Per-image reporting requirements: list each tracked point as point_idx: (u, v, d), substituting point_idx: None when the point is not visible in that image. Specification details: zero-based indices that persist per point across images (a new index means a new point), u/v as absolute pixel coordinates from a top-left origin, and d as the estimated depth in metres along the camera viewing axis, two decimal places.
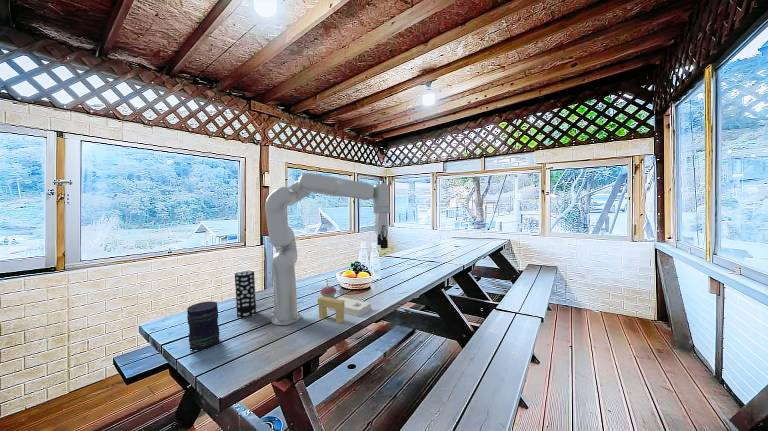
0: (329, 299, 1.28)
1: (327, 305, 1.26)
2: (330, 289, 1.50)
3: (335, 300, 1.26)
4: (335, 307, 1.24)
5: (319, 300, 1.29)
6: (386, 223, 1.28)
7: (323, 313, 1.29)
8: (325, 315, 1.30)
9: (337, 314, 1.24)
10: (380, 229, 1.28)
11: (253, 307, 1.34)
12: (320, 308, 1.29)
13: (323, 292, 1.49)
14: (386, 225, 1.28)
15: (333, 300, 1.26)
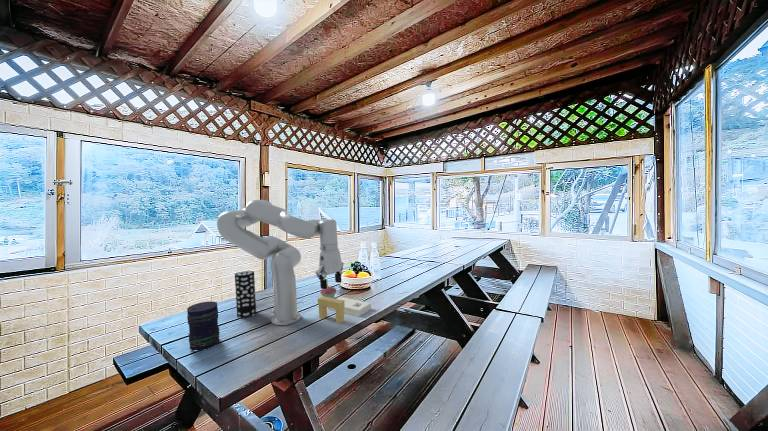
0: (329, 299, 1.28)
1: (327, 305, 1.26)
2: (330, 289, 1.50)
3: (335, 300, 1.26)
4: (335, 307, 1.24)
5: (319, 300, 1.29)
6: None
7: (323, 313, 1.29)
8: (325, 315, 1.30)
9: (337, 314, 1.24)
10: None
11: (253, 307, 1.34)
12: (320, 308, 1.29)
13: (323, 292, 1.49)
14: None
15: (333, 300, 1.26)
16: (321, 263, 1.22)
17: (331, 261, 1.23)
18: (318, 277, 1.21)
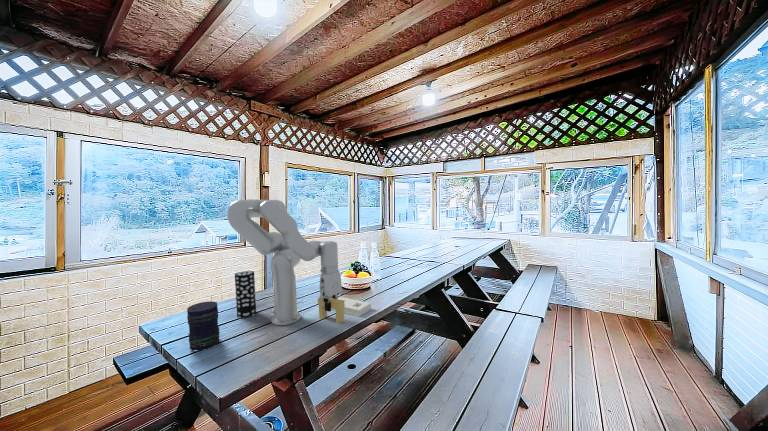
0: None
1: None
2: None
3: (336, 300, 1.26)
4: (335, 307, 1.24)
5: (319, 300, 1.29)
6: None
7: (323, 313, 1.29)
8: (325, 315, 1.30)
9: (337, 314, 1.24)
10: None
11: (253, 307, 1.34)
12: (320, 308, 1.29)
13: None
14: None
15: (333, 300, 1.26)
16: (321, 285, 1.23)
17: (331, 283, 1.24)
18: None
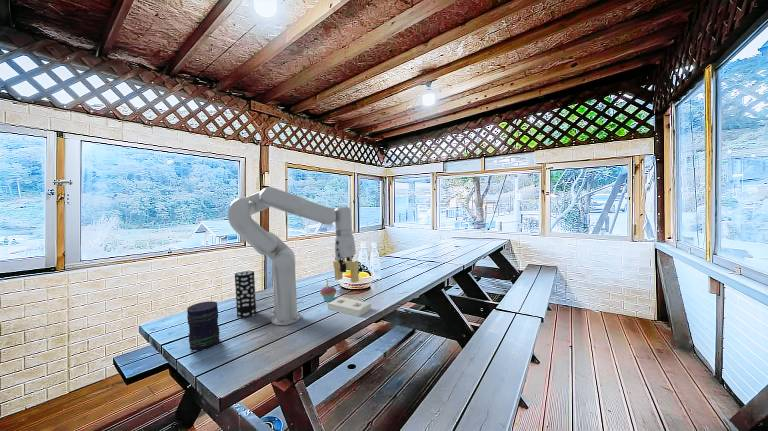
0: None
1: None
2: (330, 289, 1.50)
3: (350, 262, 1.34)
4: (350, 268, 1.32)
5: (335, 263, 1.37)
6: None
7: (338, 274, 1.37)
8: (340, 277, 1.38)
9: (352, 274, 1.32)
10: None
11: (253, 307, 1.34)
12: (336, 270, 1.37)
13: (323, 292, 1.49)
14: None
15: (348, 262, 1.34)
16: (336, 247, 1.31)
17: (346, 245, 1.32)
18: None
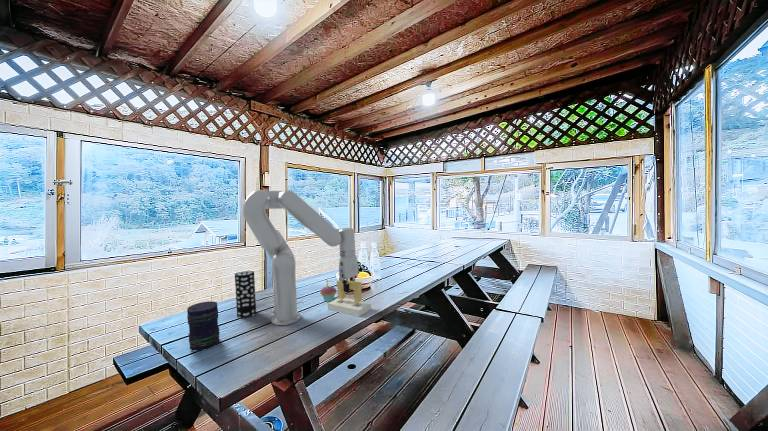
0: None
1: None
2: (330, 289, 1.50)
3: (353, 282, 1.37)
4: (353, 288, 1.35)
5: (338, 282, 1.39)
6: None
7: (341, 294, 1.39)
8: (343, 296, 1.41)
9: (355, 294, 1.35)
10: None
11: (253, 307, 1.34)
12: (339, 290, 1.40)
13: (323, 292, 1.49)
14: None
15: (351, 282, 1.37)
16: (340, 268, 1.34)
17: (349, 266, 1.34)
18: None
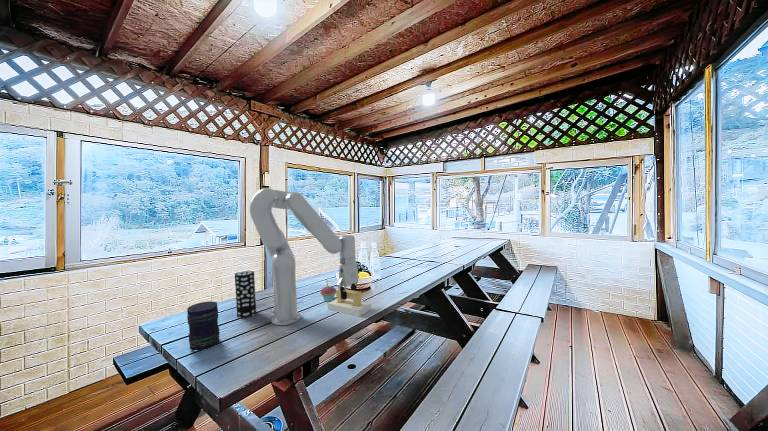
0: (347, 290, 1.39)
1: None
2: (330, 289, 1.50)
3: (353, 291, 1.37)
4: (353, 298, 1.35)
5: (338, 292, 1.40)
6: None
7: None
8: None
9: (355, 304, 1.35)
10: None
11: (253, 307, 1.34)
12: (338, 299, 1.40)
13: (323, 292, 1.49)
14: None
15: (351, 291, 1.37)
16: (340, 275, 1.34)
17: (349, 273, 1.35)
18: (339, 289, 1.33)
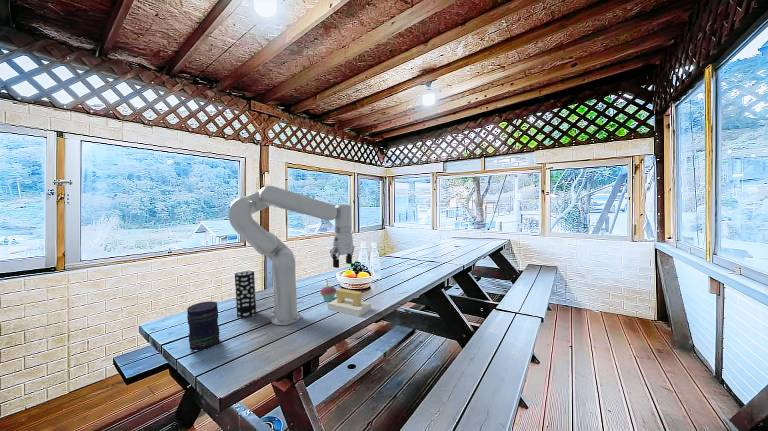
0: (347, 290, 1.39)
1: (345, 296, 1.37)
2: (330, 289, 1.50)
3: (353, 291, 1.37)
4: (353, 298, 1.35)
5: (338, 292, 1.40)
6: None
7: None
8: None
9: (355, 304, 1.35)
10: None
11: (253, 307, 1.34)
12: (338, 299, 1.40)
13: (323, 292, 1.49)
14: None
15: (351, 291, 1.37)
16: (335, 243, 1.32)
17: (344, 242, 1.33)
18: (332, 256, 1.30)
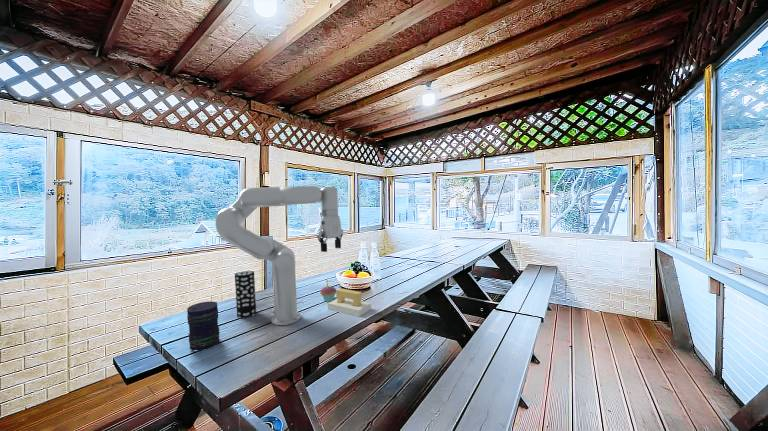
0: (347, 290, 1.39)
1: (345, 296, 1.37)
2: (330, 289, 1.50)
3: (353, 291, 1.37)
4: (353, 298, 1.35)
5: (338, 292, 1.40)
6: None
7: None
8: None
9: (355, 304, 1.35)
10: None
11: (253, 307, 1.34)
12: (338, 299, 1.40)
13: (323, 292, 1.49)
14: None
15: (351, 291, 1.37)
16: (322, 227, 1.28)
17: (331, 226, 1.29)
18: (319, 240, 1.27)
